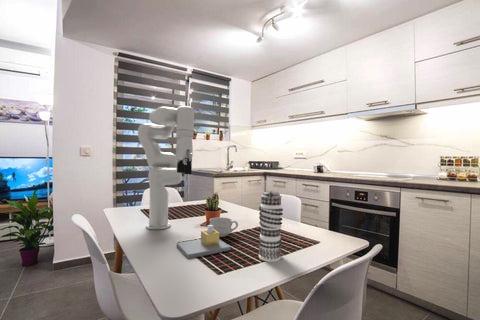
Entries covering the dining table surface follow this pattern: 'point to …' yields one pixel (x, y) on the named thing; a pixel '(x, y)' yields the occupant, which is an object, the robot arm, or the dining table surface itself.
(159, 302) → the dining table surface
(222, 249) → the board
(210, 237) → the brass collar
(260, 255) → the leaning tower model
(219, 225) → the teacup
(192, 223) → the dining table surface
